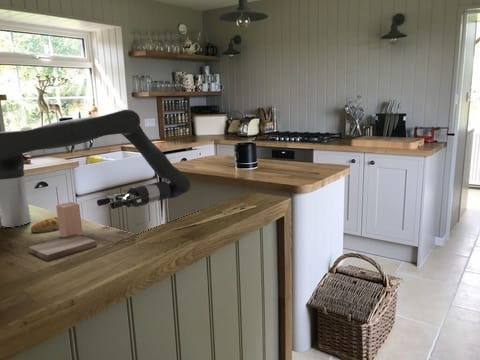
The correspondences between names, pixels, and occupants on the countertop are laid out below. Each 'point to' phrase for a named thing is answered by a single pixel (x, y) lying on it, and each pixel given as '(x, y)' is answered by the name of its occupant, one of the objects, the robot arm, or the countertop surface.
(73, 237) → the walnut board
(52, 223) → the pastry
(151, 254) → the countertop surface
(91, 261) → the countertop surface
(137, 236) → the countertop surface
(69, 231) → the tall block
